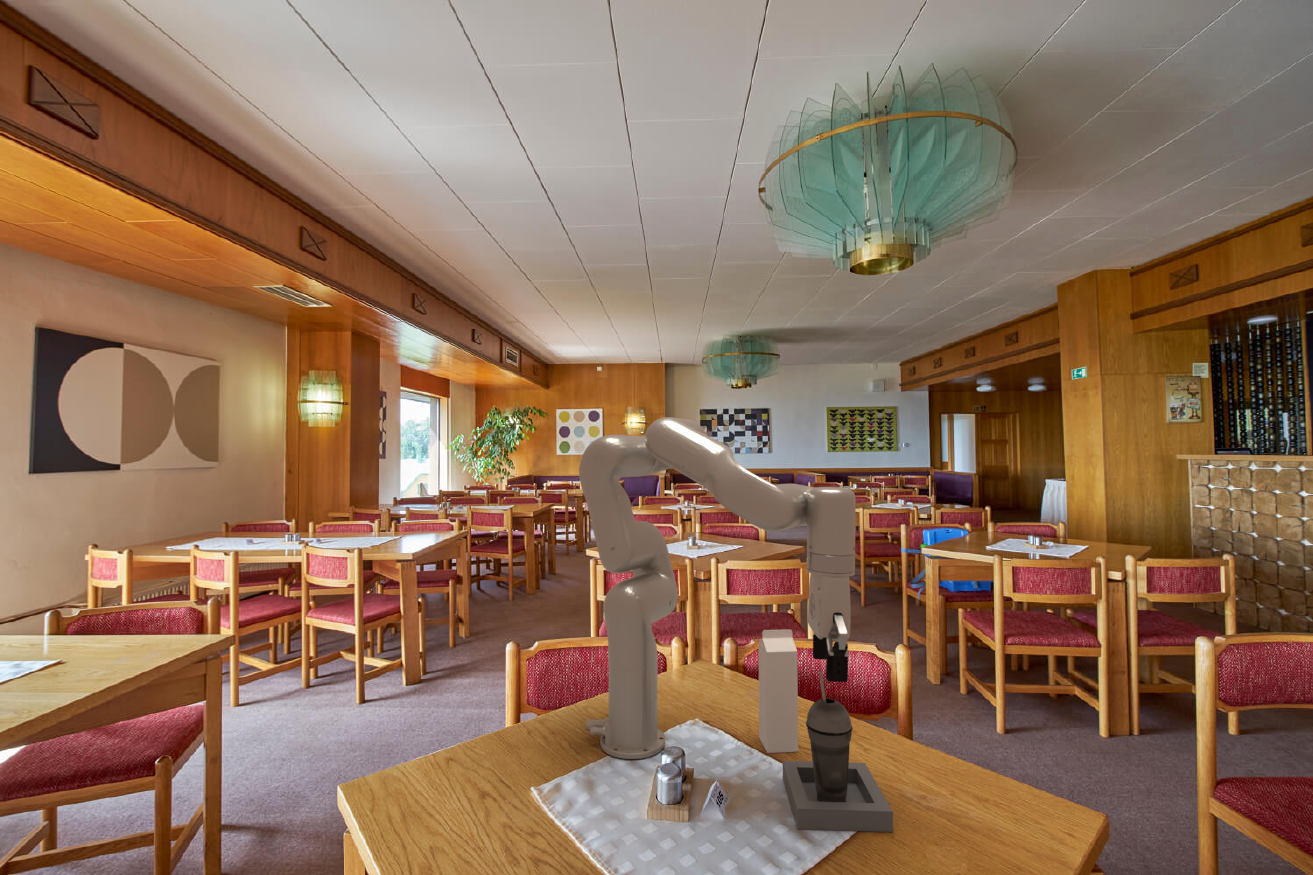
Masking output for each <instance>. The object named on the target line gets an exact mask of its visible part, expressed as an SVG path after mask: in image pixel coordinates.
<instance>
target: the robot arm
mask: <svg viewBox="0 0 1313 875" xmlns="http://www.w3.org/2000/svg"><path fill="white" fill-rule="evenodd" d="M669 469H673V470H675V471H676V472H678V473H680V474H682V475H683V476H685V477H687V478H689V479H690V480H692V481H693V482H695V483H697V484H699V485H701V486H702V487H704V488H705V489H706V490H707V491H708V493H709V494H710V495H711V496H712V497H713V498H714V499H715V500H716V501H717V502H718V503H719V504H720V505H721V506H723V507H724V508H725V509H727V510H728V511H730V513H732V514H734V515H735V516H738V517H739V518H741V519H743V520H745V521H746V522H747V523H749V524H751V525H753V526H755V527H756V528H758V529H761V530H764V531H766V532H770V533H771V532H772V533H779V532H783V531H786V530H790V529H794V528H799V527H807V528H806V530H807V531H806V533H807V534H806V536H807V537H806V572H807V573H809V574H810V575H809V583H808V584H809V585H808V586H809V587H808V602H807V604H808V605H807V623H808V627H810V629H811V631H812V632H813V635H812V658H813V659H815V660H824V661H825V679H826V681H827V682H831V683H832V682H833V683H834V682H835V683H848V681H849V644H848V640H849V639H850V636H851V621H852V620H851V619H852V618H851V613H852V612H851V610H852V609H851V587H850V577H852V576H855V575H856V508H857V507H856V505H857V504H856V503H857V501H856V495H855V492H854V491H853V490H852V489H849V488H846V487H838V486H819V487H818V486H816V487H814V486H808V485H804V484H798V483H780V484H774V483H772V482H769V481H767V480H765V479H764V478H762V477H760V476H758V475H756V473H752V471H750V470H748V469H746V468H745V467H743V466H742V465H741V464H739V463H738V461H736V458H735V457H734V451H733V449H732V448H730V447H729V446H728V445H726V444H724V443H722V442H721V441H719V440H717V439H715V438H713V437H711V436H710V435H708V434H707V433H706V430H704V428H703V427H702V426H701V425H700V424H699V423H698V422H697V421H694V420H692V419H687V418H679V417H672V416H670V417H669V416H668V417H667V416H665V417H661V418H658V419H655V421H653V422H652V423H650V425H649V426H648V427H647V428H646V431H645V434H644V435H627V434H626V435H625V434H609V435H604V436H603V435H602V436H601V437H598V438H596V439H594V440H593V441H591V442H590V444H589V445H588V446H587V447H586V448H585V450H584V452H583V454H582V456H581V459H580V462H579V469H578V474H579V475H578V476H579V483H580V487H581V490H582V493H583V495H584V499H585V502H586V504H587V508H588V511H589V512H588V513H589V517H590V522H591V527H592V532H593V534H594V535H593V536H594V539H595V544H596V547H597V553H598V556H599V560H600V563H601V565H602V566H603V568H604V569H605V570H606V571H608V572H609V573H612V574H623V573H624V574H625V573H628V572H632V574H633V577H630V578H628V579H625V580H622V581H619V582H618V583H616V584H615V585H613V586H612V587H611V588H610V589H609V591H608V592H607V593H606V595H605V597H604V601H603V615H604V616H603V617H604V621H605V627H606V633H607V647H608V648H607V649H608V650H607V652H608V653H607V654H608V655H607V657H608V658H607V660H608V661H607V663H608V715H607V717H606V718H605V717H603V718H602V719H595V718H593V719H592V718H591V719H589V718H588V719H586V723H585V730H586V731H589V734H590V735H591V736H592V735H593V736H597V735H598V736H599V735H601V736H600V748H601V749H602V751H603V752H605V753H606V754H608V755H609V756H612V757H615V758H619V759H625V760H639V759H645V758H649V757H653V756H655V755H656V754H658V753H660V752H661V751H662V750H663V749H664V748H665V746H666V736H665V734H664V732H663V730H661V729H660V728H659V727H658V647H657V642H656V639H655V635H654V633H653V632H654V631H653V628H652V624H654V623H655V622H657V621H659V620H661V619H664V618H665V617H667V616H669V615H670V614H671V613H672V612H674V610H675V609H676V606H677V604H678V601H679V600H678V598H679V593H678V592H679V591H678V585H677V581H676V578H675V573H674V569H673V566H672V561H671V558H670V553H669V550H668V549H669V548H668V545H667V542H666V540H665V537H664V535H663V533H662V532H661V530H660V529H659V528H658V527H657V526H656V525H655V524H653V523H651V522H649V521H643V520H636V519H635V516H634V512H633V508H632V503H631V501H630V497H629V495H628V493H627V492H626V490H625V489H624V487H623V485H622V484H621V483H620V479H621V478H633V477H636V478H637V477H645V476H651V475H655V474H657V473H660V472H662V471H666V470H669ZM663 747H664V748H663ZM662 748H663V749H662ZM661 749H662V750H661Z"/></svg>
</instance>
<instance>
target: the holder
mask: <svg viewBox="0 0 1313 875" xmlns="http://www.w3.org/2000/svg"><path fill="white" fill-rule="evenodd" d="M782 781H783V784H784V788H785V792H786V794H787V798H788V802H789V804H790V807H791V811H792V814H793V818H794V821H795V826H796V828H797V830H811V831H812V830H817V831H841V832H842V831H843V832H846V831H847V832H848V831H849V832H850V831H851V832H877V833H878V832H879V833H880V832H881V833H894V811H893V809H892V808H891V806H890V804H889V802H888V801H887V799H886V797H885V795H884V794H883V792H882V789H880V787H879V785H878V783H877V781H876V780H875V778H874V776H873V774H872V773H871V771H870V769H869V767H868V766H867V764H866V763H865V762H849V766H848V786H847V796H846V802H820V801H819V800H818V799H817V791H816V786H815V778H814V769H813V761H807V760H806V761H802V760H801V761H799V760H798V761H797V760H796V761H795V760H782Z"/></svg>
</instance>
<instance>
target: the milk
mask: <svg viewBox="0 0 1313 875" xmlns="http://www.w3.org/2000/svg"><path fill="white" fill-rule="evenodd" d="M761 633H762V634H761V636H762V638H761V639H760V640H759V641H758V736H759V737H758V738H759V741H760V743H761V744H762V746H763V748H764V749H765V751H766V753H767V754H775V753H779V754H780V753H781V754H782V753H797V752H799V728H798V727H799V722H798V721H799V710H798V708H799V706H798V704H799V702H798V701H799V700H798V699H799V698H798V695H799V694H798V693H799V692H798V689H799V688H798V682H799V681H798V650H797V646H796V644H795V641H794V638H793V630H792V629H763V631H762V632H761Z"/></svg>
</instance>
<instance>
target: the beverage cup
mask: <svg viewBox="0 0 1313 875" xmlns="http://www.w3.org/2000/svg"><path fill="white" fill-rule="evenodd" d="M818 675H819V683H820V690H821V691H820V692H821V696H822V698H820V699H818V700H816V701H815V702H813V703H812V705H811V706H810V708H809V709H808V712H807V716H806V721H805V726H806V728H807V734H808V738H809V741H810V750H811V758H812V762H813V769H814V778H815V786H816V791H817V799H818V800H819V801H820V802H846V796H847V786H848V766H849V763H850V762H849V761H850V745H851V744H850V743H851V741H852V731H853V729H854V727H853V725H852V721H851V717H850V714H849V712H848V710H847V708H845V706H844V705H843V704H841V702H839V701H838V700H836V699H833V698H830V697H826V691H825V685H824V679H823V671H822V670H818Z"/></svg>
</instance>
